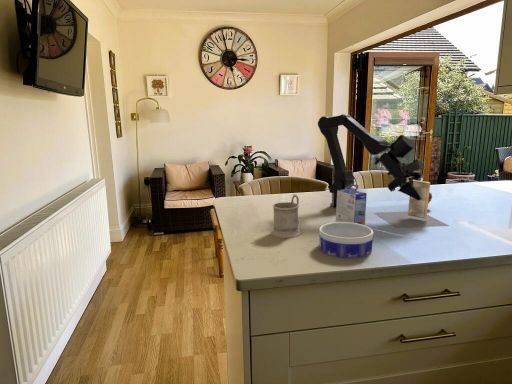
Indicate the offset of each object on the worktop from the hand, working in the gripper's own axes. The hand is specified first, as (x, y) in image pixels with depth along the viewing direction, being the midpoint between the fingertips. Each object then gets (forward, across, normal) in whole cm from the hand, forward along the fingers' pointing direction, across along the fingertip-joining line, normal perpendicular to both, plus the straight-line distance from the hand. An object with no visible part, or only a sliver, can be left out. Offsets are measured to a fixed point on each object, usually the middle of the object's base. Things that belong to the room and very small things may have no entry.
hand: (421, 199), depth 129 cm
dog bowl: (+3, -42, +9) cm, 43 cm away
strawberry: (+1, +19, +11) cm, 22 cm away
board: (+4, 0, +5) cm, 7 cm away
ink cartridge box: (-5, -21, +17) cm, 27 cm away
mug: (-13, -41, +25) cm, 50 cm away
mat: (+3, -1, +8) cm, 9 cm away
